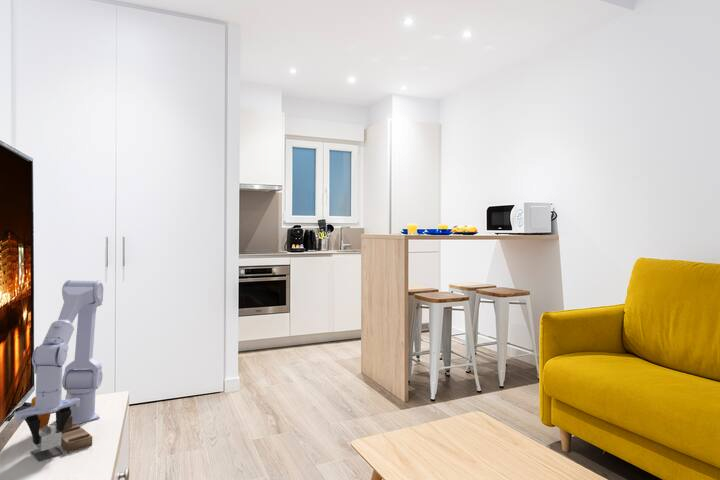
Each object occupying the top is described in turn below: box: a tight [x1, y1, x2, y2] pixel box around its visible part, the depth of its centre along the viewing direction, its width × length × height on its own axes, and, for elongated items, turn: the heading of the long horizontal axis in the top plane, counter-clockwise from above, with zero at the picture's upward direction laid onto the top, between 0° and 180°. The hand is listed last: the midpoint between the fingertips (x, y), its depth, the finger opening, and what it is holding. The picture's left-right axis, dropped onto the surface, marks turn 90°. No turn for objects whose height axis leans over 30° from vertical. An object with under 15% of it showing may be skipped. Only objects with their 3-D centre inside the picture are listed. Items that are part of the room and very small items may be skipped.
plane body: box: [60, 415, 93, 453], centre depth 126 cm, size 12×6×6 cm, turn 51°
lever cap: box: [35, 424, 62, 451], centre depth 119 cm, size 6×4×4 cm
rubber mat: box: [30, 446, 64, 462], centre depth 119 cm, size 7×6×1 cm
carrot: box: [30, 396, 52, 429], centre depth 130 cm, size 5×5×15 cm
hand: (47, 439), depth 119 cm, fingers closed on lever cap, 4 cm apart
